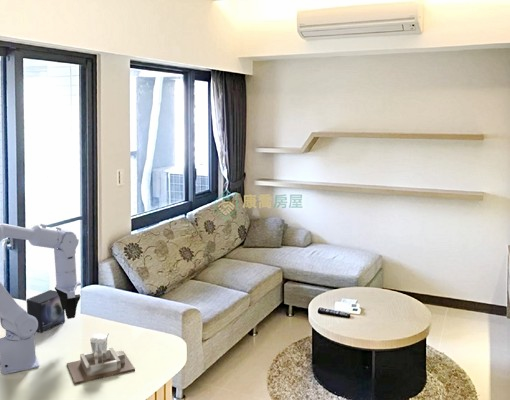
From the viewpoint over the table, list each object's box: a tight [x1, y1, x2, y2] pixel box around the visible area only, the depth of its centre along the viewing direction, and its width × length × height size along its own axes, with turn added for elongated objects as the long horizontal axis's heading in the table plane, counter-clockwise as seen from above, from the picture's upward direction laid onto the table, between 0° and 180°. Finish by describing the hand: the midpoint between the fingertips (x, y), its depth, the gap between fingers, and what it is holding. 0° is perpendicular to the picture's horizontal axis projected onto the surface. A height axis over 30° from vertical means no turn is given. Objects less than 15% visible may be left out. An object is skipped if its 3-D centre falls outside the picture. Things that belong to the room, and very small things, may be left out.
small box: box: [26, 289, 66, 334], centre depth 179 cm, size 11×6×10 cm, turn 155°
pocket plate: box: [66, 347, 136, 385], centre depth 152 cm, size 16×12×3 cm
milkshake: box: [90, 333, 109, 365], centre depth 151 cm, size 4×5×10 cm
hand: (68, 313), depth 164 cm, fingers open, 7 cm apart
